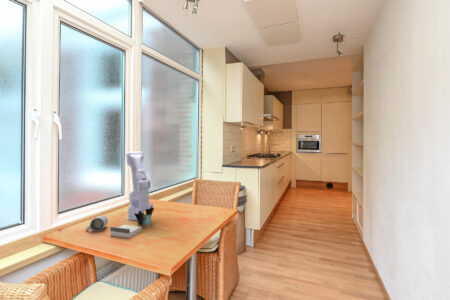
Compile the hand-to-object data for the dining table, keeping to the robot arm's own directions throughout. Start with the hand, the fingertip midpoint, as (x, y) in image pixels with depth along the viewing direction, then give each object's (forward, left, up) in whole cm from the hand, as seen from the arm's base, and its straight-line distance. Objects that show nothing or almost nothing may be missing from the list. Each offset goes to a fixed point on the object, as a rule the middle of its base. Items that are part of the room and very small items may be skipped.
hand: (144, 222), depth 139 cm
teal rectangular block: (0, 0, -2) cm, 2 cm away
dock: (-2, -13, -2) cm, 13 cm away
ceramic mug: (-23, -13, -2) cm, 26 cm away
